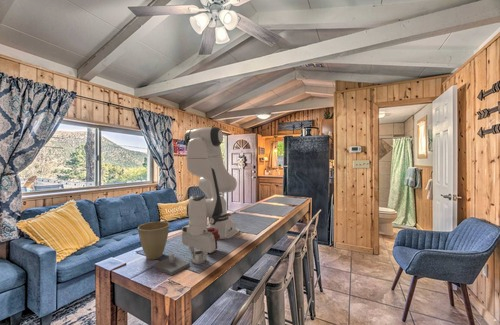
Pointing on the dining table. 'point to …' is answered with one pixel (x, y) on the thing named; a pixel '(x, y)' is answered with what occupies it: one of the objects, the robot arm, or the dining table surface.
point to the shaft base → (171, 265)
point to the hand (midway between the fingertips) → (198, 257)
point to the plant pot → (153, 238)
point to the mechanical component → (216, 235)
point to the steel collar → (197, 257)
